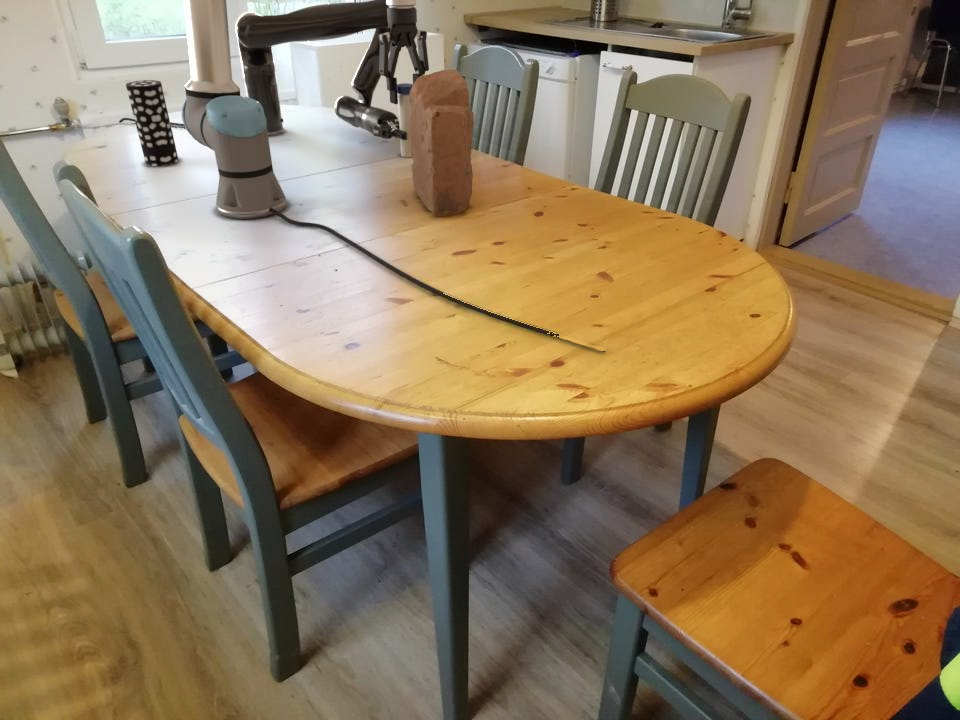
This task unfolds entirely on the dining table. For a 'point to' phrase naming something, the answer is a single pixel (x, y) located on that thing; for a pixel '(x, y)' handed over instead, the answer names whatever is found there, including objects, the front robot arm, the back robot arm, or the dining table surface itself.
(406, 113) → the white cylinder
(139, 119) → the black spotted cylinder
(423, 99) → the stone
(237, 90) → the front robot arm
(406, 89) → the lid
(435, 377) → the dining table surface
